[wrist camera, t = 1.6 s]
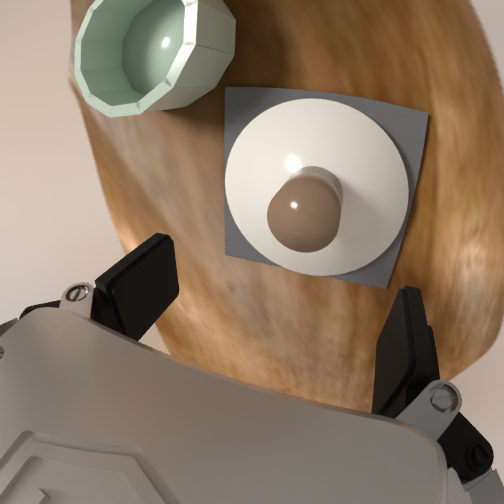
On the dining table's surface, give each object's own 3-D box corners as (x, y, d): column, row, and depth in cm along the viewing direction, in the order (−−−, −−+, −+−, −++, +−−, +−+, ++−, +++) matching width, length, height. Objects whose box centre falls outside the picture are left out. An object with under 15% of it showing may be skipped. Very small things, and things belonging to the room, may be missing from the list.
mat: (227, 87, 18) (224, 87, 18) (426, 112, 14) (428, 113, 14) (227, 252, 25) (225, 254, 25) (385, 286, 22) (385, 289, 21)
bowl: (124, 5, 16) (79, -1, 11) (238, -23, 13) (202, -50, 9) (122, 112, 22) (76, 122, 17) (233, 106, 19) (194, 111, 14)
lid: (231, 93, 18) (192, 94, 14) (420, 118, 14) (444, 125, 10) (230, 250, 25) (201, 287, 20) (381, 282, 21) (383, 329, 17)
